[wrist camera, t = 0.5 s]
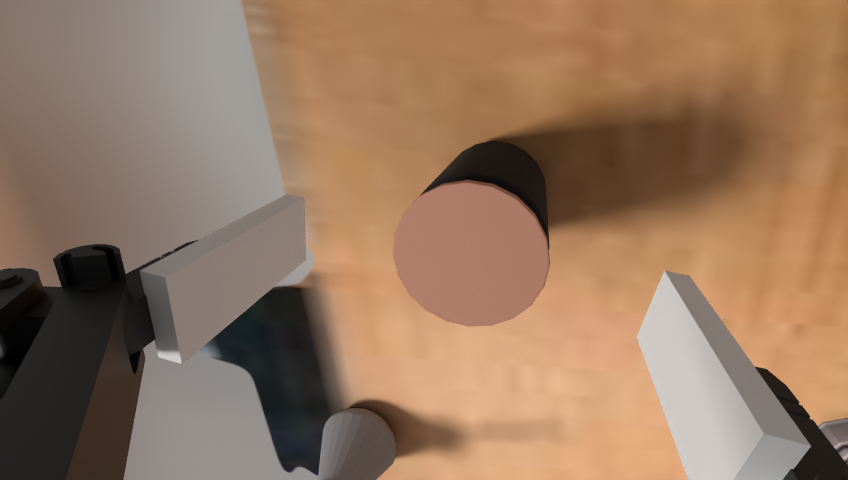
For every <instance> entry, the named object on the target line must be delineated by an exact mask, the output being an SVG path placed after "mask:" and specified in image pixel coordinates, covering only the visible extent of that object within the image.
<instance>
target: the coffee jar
mask: <svg viewBox="0 0 848 480" xmlns="http://www.w3.org/2000/svg"><path fill="white" fill-rule="evenodd" d="M393 257H394V261H395V265H396V269H397V273H398V277H399V278H400V280H401V282H402V283H403V285H404V287H405V288H406V290H407V292H408V293H409V295H410V296H411V297H412V298H413V299H414V300H415V301H417V302H418V303H419V304H420V305H421V306H422V307H423V308H424V309H425V310H426V311H428V312H430V313H432V314H434V315H436V316H438V317H439V318H441V319H443V320H445V321H448V322H452V323H456V324H461V325H465V326H491V325H494V324H497V323H500V322H503V321H506V320H510V319H513V318H514V317H515V316H517V315H518V314H520V313H521V312H522V311H524V310H525V309H526V308H528V307H529V306H531V305H532V303H533V302H534V300H535V299H536V297H537V296H538V295H539V293H540V292H541V290H542V289H543V287H544V286H545V282H546V278H547V274H548V270H549V266H550V259H549V234H548V217H547V200H546V188H545V179H544V176H543V174H542V172H541V170H540V168H539V166H538V164H537V163H536V162H535V161H534V159H533V158H532V157H531V156H530V155H529V154H528V153H527V152H526V151H524V150H522V149H520V148H518V147H516V146H514V145H512V144H509V143H502V142H495V141H492V142H486V143H480V144H476V145H474V146H472V147H470V148H468V149H467V150H465V151H463V152H462V153H461V154H460V155H459V156H458V157H457V158H456V159H455V160H454V161H453V162H452V163H451V164H450V165H449V166H448V167H447V168H446V169H445V170H444V171H443V172H442V173H441V174H440V175H439V176H438V177H437V178H436V179H435V180H434V181H433V182H432V183H431V184H430V185H429V186H428V187H427V189H426V190H425V191H424V192H423V193H422V194H421V195H420V196H419V197H418V198H417V199H416V200H415V201H414V202H413V203H412V204H411V205H410V207H409V208H408V209H407V210H406V211H405V212H404V213H403V215H402V217H401V220H400V222H399V224H398V226H397V229H396V231H395V234H394V248H393Z"/></svg>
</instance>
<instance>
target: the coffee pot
mask: <svg viewBox="0 0 848 480" xmlns="http://www.w3.org/2000/svg"><path fill="white" fill-rule="evenodd" d="M395 457H396V440H395V437H394V434H393V432H392V431H391V429H390V427H389V426H388V424H387V423H386V421H385V420H384V419H383V418H382V417H381V416H380V415H378V414H377V413H375V412H373V411H371V410H369V409H364V408H349V409H345V410H341V411H339V412H338V413H336V414H334V415H333V416H331V417H330V418H329V419H328V421H327V422H326V423H325V427H324V430H323V438H322V447H321V457H320V466H319V475H318V480H376V479H377V478H378V477H379V476H381V475H382V474H383V473H384V472H385V471H386V470H387V469H388V468H389V467H390V466H391V465H392V464H393V462H394V460H395Z"/></svg>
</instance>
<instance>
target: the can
mask: <svg viewBox="0 0 848 480" xmlns="http://www.w3.org/2000/svg"><path fill="white" fill-rule="evenodd" d="M818 427H819V428H820V430H821V431H822V432H823V434H824V435H825V436H826V438H827V439H828V440H829V441H830V443H831V444H832V445H833V447H834V448H835V449H836V450H837V452H838V453H839V454H840V456H841V457H842V458H843V460H844V461H845V462H846V463H847V465H848V418H845V419H839V420H834V421H828V422H823V423H822V424H820V425H819V426H818Z"/></svg>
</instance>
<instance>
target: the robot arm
mask: <svg viewBox="0 0 848 480" xmlns="http://www.w3.org/2000/svg"><path fill="white" fill-rule="evenodd" d="M305 260H306V243H305V198H303V197H298V196H293V195H288V194H287V195H285V196H283V197H281V198H279V199H277V200H275V201H273V202H271V203H269V204H267V205H266V206H263V207H262V208H260V209H258V210H256V211H254V212H252V213H250V214H248V215H246V216H244V217H242V218H240V219H238V220H237V221H235V222H233V223H231V224H229V225H227V226H225V227H223V228H221V229H219V230H217V231H215V232H213V233H211V234H210V235H208V236H206V237H204V238H202V239H200V240H196V241H192V242H189V243H186V244H184V245H182V246H180V247H178V248H176V249H174V250H173V252H168V253H166V254H164V255H162V256H161V258H160V257H159V258H156V259H154V260H152V261H151V262H148V263H146V264H145V265H142V266H141V267H139V268H137V269H135V270H133V271H131V272H129V273H127V274H125V270H124V266H123V262H122V257H121V253H120V249H119V248H117V247H115V246H112V245H106V244H96V245H95V244H94V245H86V246H80V247H76V248H73V249H69V250H67V251H64V252H62V253H60V254H58V255H57V256H56V257H55V258H54V259H53V261H54V264H55V267H56V270H57V273H58V276H59V280H60V282H61V286H62V287H43V286H42V283H41V280H40V277H39V274H38V272H37V271H35V270H32V269H25V268H17V269H11V268H9V269H3V270H2V271H1V270H0V480H123V478H124V472H125V467H126V461H127V456H128V450H129V445H130V440H131V434H132V428H133V423H134V417H135V411H136V407H137V401H138V395H139V390H140V385H141V379H142V373H143V368H144V363H145V355H144V351H143V348H144V347H145V346H146V345H148V344H149V343H151V342H152V341H153V340H155V344H156V348H157V353H158V356H159V357H160V358H163V359H167V360H170V361H173V362H177V363H180V364H183V363H184V362H185V361H186V360H187V359H189V358H190V357H191V356H192V355H193V354H194V353H196V352H197V351H198V350H199V349H200V348H202V347H203V346H204V345H205V344H206V343H208V342H209V341H210V340H211V339H212V338H213V337H215V336H216V335H217V334H218V333H219V332H221V331H222V330H223V329H224V328H225V327H227V326H228V325H229V324H230V323H231V322H232V321H234V320H235V319H236V318H237V317H238V316H240V315H241V314H242V313H243V312H244V311H246V310H247V309H248V308H249V307H250V306H252V305H253V304H254V303H255V302H256V301H257V300H259V299H260V298H261V297H262V296H263V295H265V294H266V293H267V292H268V291H269V290H271V289H272V288H273V287H274V286H275V285H276V284H278V283H279V282H280V281H281V280H282V279H284V278H285V277H286V276H287V275H288V274H289V273H291V272H292V271H293V270H294V269H295V268H297V267H298V266H299V265H300V264H301V263H303V262H304V261H305ZM637 339H638V342H639V345H640V348H641V350H642V353H643V356H644V359H645V361H646V364H647V367H648V370H649V372H650V375H651V378H652V381H653V384H654V386H655V389H656V392H657V395H658V397H659V400H660V403H661V406H662V409H663V411H664V414H665V417H666V420H667V422H668V425H669V428H670V431H671V433H672V436H673V439H674V442H675V445H676V447H677V450H678V453H679V456H680V458H681V461H682V464H683V467H684V469H685V472H686V475H687V478H688V480H848V465H847V463H846V462H845V461H844V460H843V458H842V457H841V456H840V454H839V453H838V452H837V450H836V449H835V448H834V447H833V445H832V444H831V443H830V441H829V440H828V439H827V438H826V436H825V435H824V434H823V432H822V431H821V430H820V428H819V427H818V426H817V425H816V423H815V422H814V421H813V420H811V419H810V415H809V414H808V413H807V412H806V410H805V409H804V408H803V406H801V405H799V401H798V400H797V399H796V397H795V396H794V395H793V393H792V392H791V391H790V390H789V388H788V387H787V386H786V385H785V384H784V383H783V382H781V381H780V380H779V379H778V378H777V377H775V376H774V375H773V374H772V373H770V372H769V371H768V370H767V369H763V368H759V367H755V366H754V365H753V364H752V363H751V361H750V360H749V358H748V357H747V356H746V354H745V353H744V351H743V350H742V349H741V347H740V346H739V344H738V343H737V342H736V340H735V339H734V337H733V336H732V335H731V333H730V332H729V330H728V329H727V328H726V326H725V325H724V323H723V322H722V321H721V319H720V318H719V316H718V315H717V314H716V312H715V311H714V309H713V308H712V307H711V305H710V304H709V302H708V301H707V300H706V298H705V297H704V295H703V294H702V293H701V291H700V290H699V288H698V287H697V286H696V284H695V283H694V281H693V280H692V279H691V277H690V276H688V275H683V274H678V273H673V272H668V271H664V273H663V275H662V278H661V280H660V283H659V285H658V287H657V290H656V292H655V295H654V297H653V299H652V302H651V304H650V307H649V309H648V311H647V314H646V316H645V319H644V321H643V323H642V326H641V328H640V331H639V333H638V335H637Z"/></svg>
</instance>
